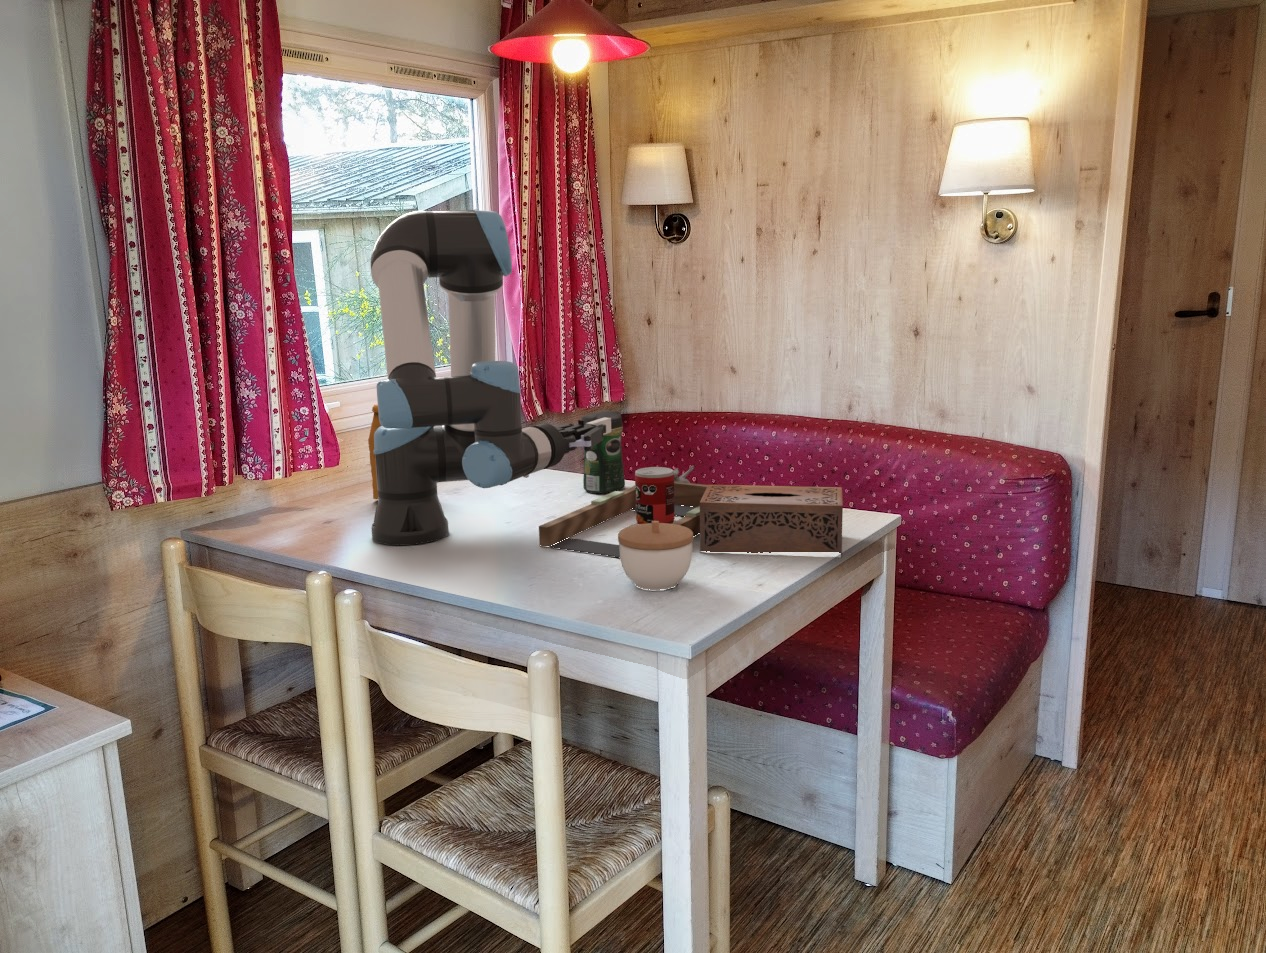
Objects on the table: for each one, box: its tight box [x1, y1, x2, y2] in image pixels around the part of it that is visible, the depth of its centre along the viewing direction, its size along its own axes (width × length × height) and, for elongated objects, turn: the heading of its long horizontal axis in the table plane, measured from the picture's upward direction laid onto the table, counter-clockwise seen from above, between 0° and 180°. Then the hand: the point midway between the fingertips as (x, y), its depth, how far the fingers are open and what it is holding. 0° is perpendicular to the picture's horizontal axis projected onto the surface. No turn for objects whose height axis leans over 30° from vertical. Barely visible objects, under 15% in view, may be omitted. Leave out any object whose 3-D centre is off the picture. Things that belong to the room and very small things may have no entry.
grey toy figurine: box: [673, 465, 695, 483], centre depth 236 cm, size 10×6×9 cm
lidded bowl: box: [617, 521, 694, 590], centre depth 175 cm, size 13×13×11 cm
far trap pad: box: [630, 505, 696, 517], centre depth 223 cm, size 8×19×1 cm, turn 60°
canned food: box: [634, 466, 676, 525], centre depth 214 cm, size 8×8×11 cm
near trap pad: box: [549, 537, 620, 557], centre depth 197 cm, size 6×19×1 cm, turn 60°
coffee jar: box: [581, 410, 626, 494], centre depth 242 cm, size 10×8×19 cm
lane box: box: [538, 482, 709, 547], centre depth 211 cm, size 40×24×5 cm, turn 150°
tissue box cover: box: [699, 484, 844, 555], centre depth 197 cm, size 26×14×10 cm, turn 80°
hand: (607, 424), depth 194 cm, fingers closed
